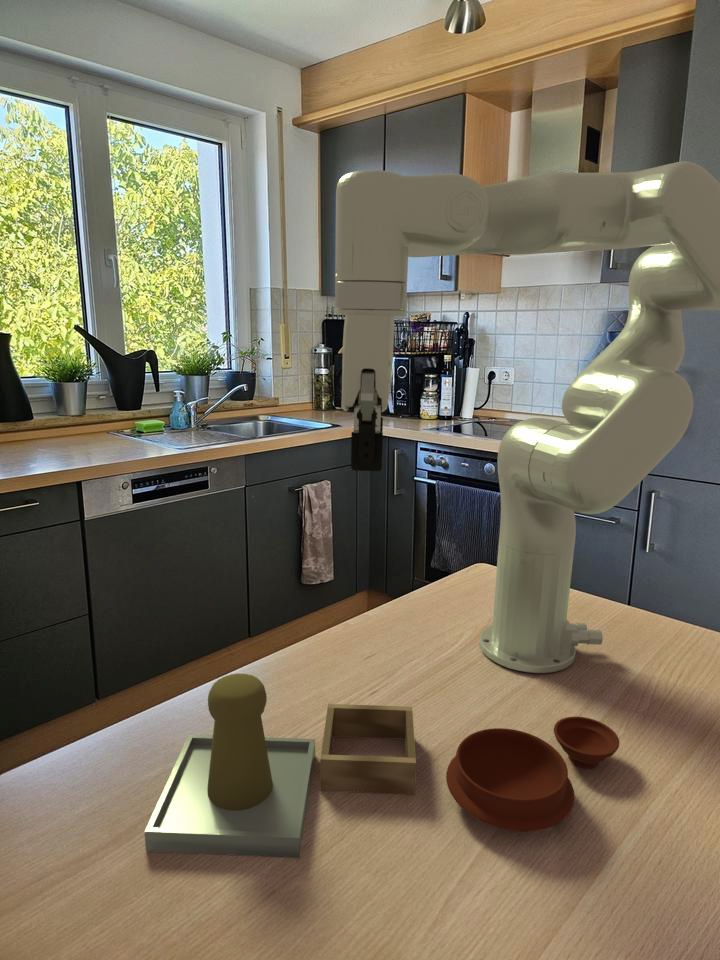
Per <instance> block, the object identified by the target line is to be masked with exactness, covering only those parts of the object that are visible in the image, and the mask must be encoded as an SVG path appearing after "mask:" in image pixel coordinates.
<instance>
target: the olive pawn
mask: <svg viewBox="0 0 720 960" xmlns="http://www.w3.org/2000/svg"><path fill="white" fill-rule="evenodd" d="M267 699H268V696H267V691H266V688H265V685H264V684H263V682H262V681H261V680H260V679H259V678H258V677H257V676H254V675H252V674H248V673H239V672H238V673H231V674H228V675H225V676H222V677H221V678H218V679H217V680H216V681H215V682H214V683H213V685H212V686H211V688H210V690H209V692H208V695H207V705H208V706H207V707H208V711H209V714H210V717H212V719H213V721H214V723H213V731H212V732H213V733H212V735H213V740H212V749H211V759H210V768H209V778H208V787H207V791H208V797H209V799H210V800H211V802H212V803H213V804H215V805H216V806H218V807H219V808H222V809H226V810H236V811H239V810H245V809H250V808H252V807H254V806H256V805H259V804H260V803H261V802H263V801H264V800H265V799H267V797H268V796H269V794H270V793H271V791H272V787H273V782H272V776H271V770H270V765H269V759H268V753H267V747H266V742H265V737H266V736H265V731H264V726H263V721H262V720H263V719H262V715H263V713H264V711H265V708H266V706H267V705H266V704H267V701H268V700H267Z"/></svg>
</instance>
